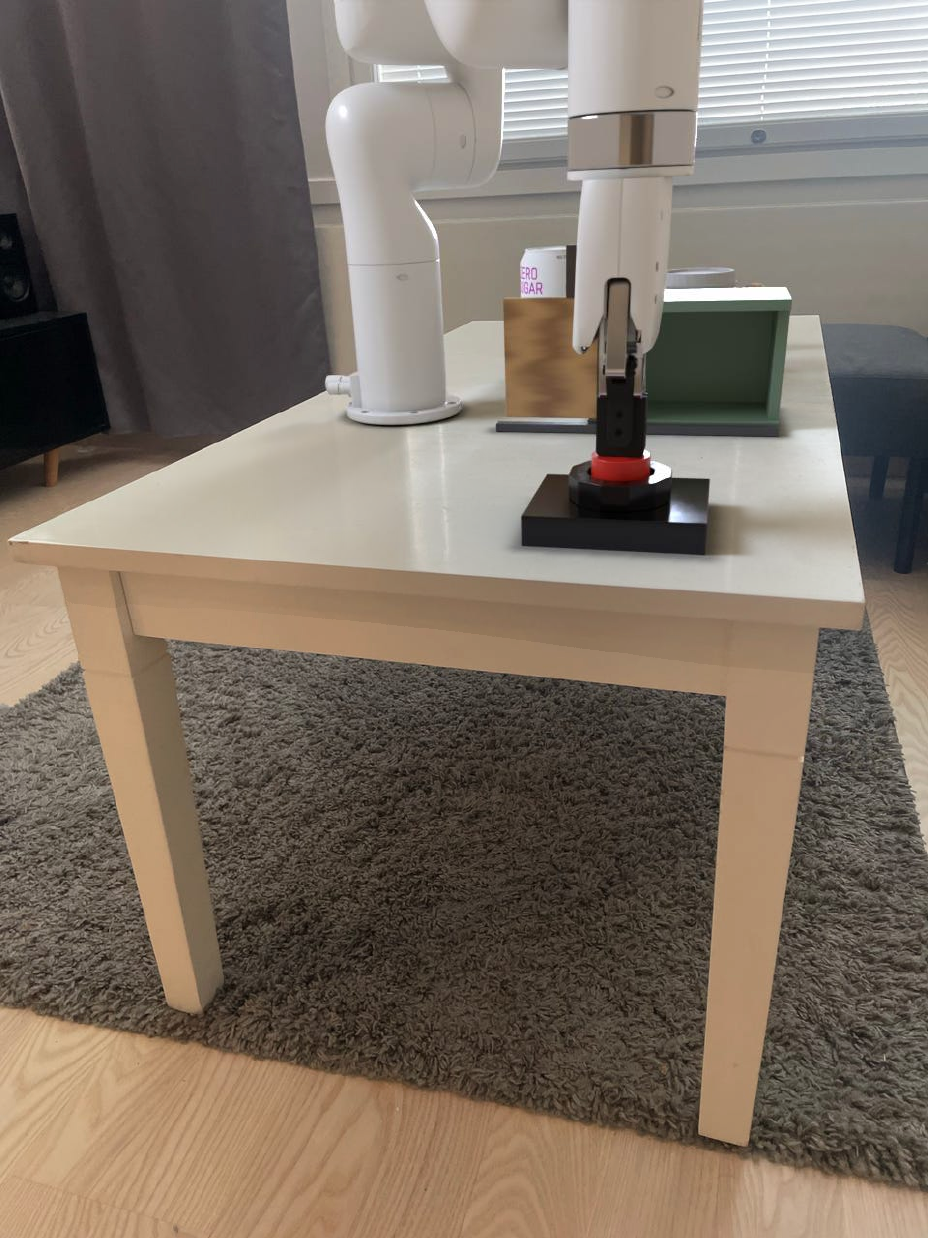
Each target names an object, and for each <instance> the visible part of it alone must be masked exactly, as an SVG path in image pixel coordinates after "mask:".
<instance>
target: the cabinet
mask: <svg viewBox="0 0 928 1238" xmlns="http://www.w3.org/2000/svg"><path fill="white" fill-rule="evenodd" d="M792 304H793V298H792V296H791V294H790V293H789V291H788V289H787V287H785V286H784V287H780V286H779V287H778V286H777V287H765V288H744V287H741V288H740V287H735V288H728V289H678V290H665V297H664V304H663V311H662V318H661V324H660V330H659V334H658V337H657V339H656V342H655V344H654V346H653V347H652V349H650V350H649V351H648V352H647V366H646V385H645V391H643V392H648V403H647V425H646V435H671V436H673V435H675V436H677V435H678V436H726V437H727V436H728V437H729V436H731V437H777V438H778V437H780V430H781V427H780V415H781V404H782V403H781V402H782V395H783V383H784V374H785V366H786V365H785V364H786V355H787V345H788V336H789V326H790V316H791V311H792V307H793V306H792ZM598 395H599V355H598ZM495 432H512V433H513V432H516V433H563V434H564V433H567V434H568V433H569V434H596V418H587V421H585V422H584V421H526V420H525V421H524V420H523V421H522V420H518V421H517V420H498V421H497V422H496V423H495Z"/></svg>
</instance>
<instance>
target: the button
mask: <svg viewBox="0 0 928 1238" xmlns="http://www.w3.org/2000/svg"><path fill="white" fill-rule="evenodd" d="M590 455H591V456H590V457H591V459H590V460H591V477H593V478H598V479H603V480H607V481H631V480H639V479H645V478H647V477H650V463H651V461H652V459H651V458H652V453H650V451H648V450H646V449H645V450H644V453H643V455H642V456H641V457H608V456H599V455H598V454H597V453H596V450H595V451H593V452H592V453H591V454H590Z"/></svg>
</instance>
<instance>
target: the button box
mask: <svg viewBox="0 0 928 1238" xmlns="http://www.w3.org/2000/svg"><path fill="white" fill-rule="evenodd" d="M710 485H711V478H701V477H673V469H672V468H671V467H669V466H668V465H666V464H664V463H662V462H660V461H654V460H651V463H650V477H647V478H645V479H639V480H631V481H607V480H603V479H598V478H593V477H591V459H590V460H586V461H584V462H583V461H582V462H581V463H578V464H575V465H573V466H572V467H571V469H570V471H569V473H568V474H567V473H566V474H565V473H546V475H545V477H544V478H543V480H542V481H541V483H540V485H539V487H538V488H537V490H536V491H535V493H534V495H532V498H531V499H530V501H529V502H528V504H527V506H526V507H525V509H524V510H523V513H522V514H521V516H520V523H521V524H520V527H521V529H520V530H521V534H520V535H521V547H529V548H534V547H535V548H548V549H549V548H550V549H551V548H552V549H567V550H568V549H570V550H590V551H591V550H592V551H608V552H609V551H612V552H613V551H614V552H627V553H628V552H632V553H648V554H649V553H651V554H670V555H689V556H706V545H707V535H708V533H707V532H708V517H709V504H710V503H709V502H710V501H709V500H710Z"/></svg>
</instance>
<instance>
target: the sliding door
mask: <svg viewBox="0 0 928 1238" xmlns="http://www.w3.org/2000/svg"><path fill="white" fill-rule="evenodd" d="M565 246H566V297H521V296H520V297H504V298H502V309H503V315H502V316H503V348H504V349H503V351H504V352H503V354H504V355H503V356H504V391H505V393H504V394H505V417H506V418H538V419H539V418H540V419H541V418H544V419H545V418H547V419H589V418H597V396H598V355H599V337H598V338H597V339H596V340H595V342H594V343H593V344H592V345H591V347H590V348H589V349H588V350H587V352H586V353H585V354H578V353H577V352H576V351H575V350H574V348H573V323H574V303H575V278H576V253H577V243H571V244H570V243H568V244H566V245H565Z"/></svg>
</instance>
